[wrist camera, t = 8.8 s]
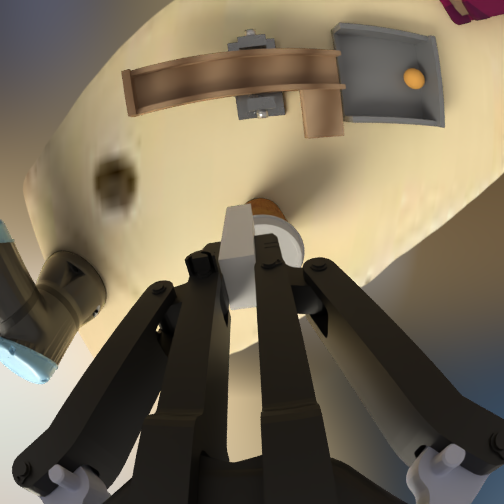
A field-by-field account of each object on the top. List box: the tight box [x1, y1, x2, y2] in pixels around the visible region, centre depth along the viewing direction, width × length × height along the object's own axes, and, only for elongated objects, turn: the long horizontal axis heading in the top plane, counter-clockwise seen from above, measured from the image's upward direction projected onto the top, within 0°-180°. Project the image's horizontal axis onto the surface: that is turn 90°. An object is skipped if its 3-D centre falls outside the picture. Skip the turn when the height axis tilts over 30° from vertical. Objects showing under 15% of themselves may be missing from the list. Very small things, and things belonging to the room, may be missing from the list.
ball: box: [404, 68, 425, 89], centre depth 28 cm, size 3×3×3 cm
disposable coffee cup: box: [246, 198, 304, 268], centre depth 35 cm, size 10×10×12 cm
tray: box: [331, 23, 445, 128], centre depth 27 cm, size 14×14×5 cm
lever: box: [121, 48, 346, 138], centre depth 26 cm, size 24×11×3 cm, turn 97°
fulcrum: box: [228, 29, 285, 120], centre depth 28 cm, size 6×11×7 cm, turn 8°
